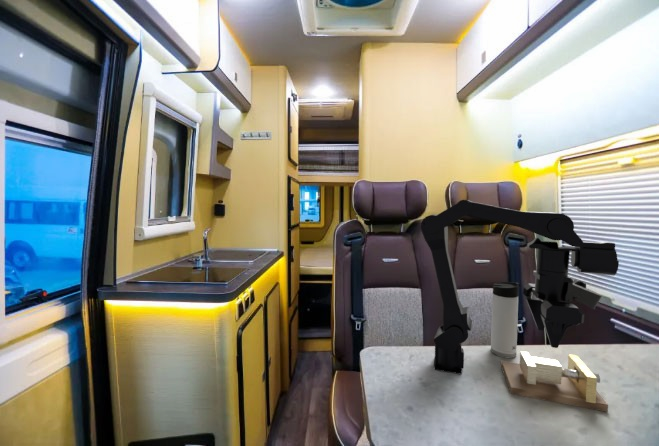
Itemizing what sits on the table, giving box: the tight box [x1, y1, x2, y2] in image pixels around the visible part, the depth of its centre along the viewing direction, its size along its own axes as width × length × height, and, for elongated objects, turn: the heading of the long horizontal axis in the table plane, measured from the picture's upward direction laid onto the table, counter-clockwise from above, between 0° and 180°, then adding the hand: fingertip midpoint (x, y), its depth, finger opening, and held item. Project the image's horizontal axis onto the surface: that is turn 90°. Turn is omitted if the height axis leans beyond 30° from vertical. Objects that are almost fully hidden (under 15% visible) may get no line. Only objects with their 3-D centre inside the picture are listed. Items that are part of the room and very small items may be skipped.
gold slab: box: [567, 354, 598, 403], centre depth 66 cm, size 2×10×5 cm, turn 160°
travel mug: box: [490, 281, 521, 359], centre depth 85 cm, size 6×7×20 cm
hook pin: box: [519, 350, 601, 385], centre depth 68 cm, size 14×7×4 cm, turn 70°
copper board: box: [500, 360, 609, 413], centre depth 70 cm, size 17×12×2 cm
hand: (547, 338), depth 68 cm, fingers open, 9 cm apart
